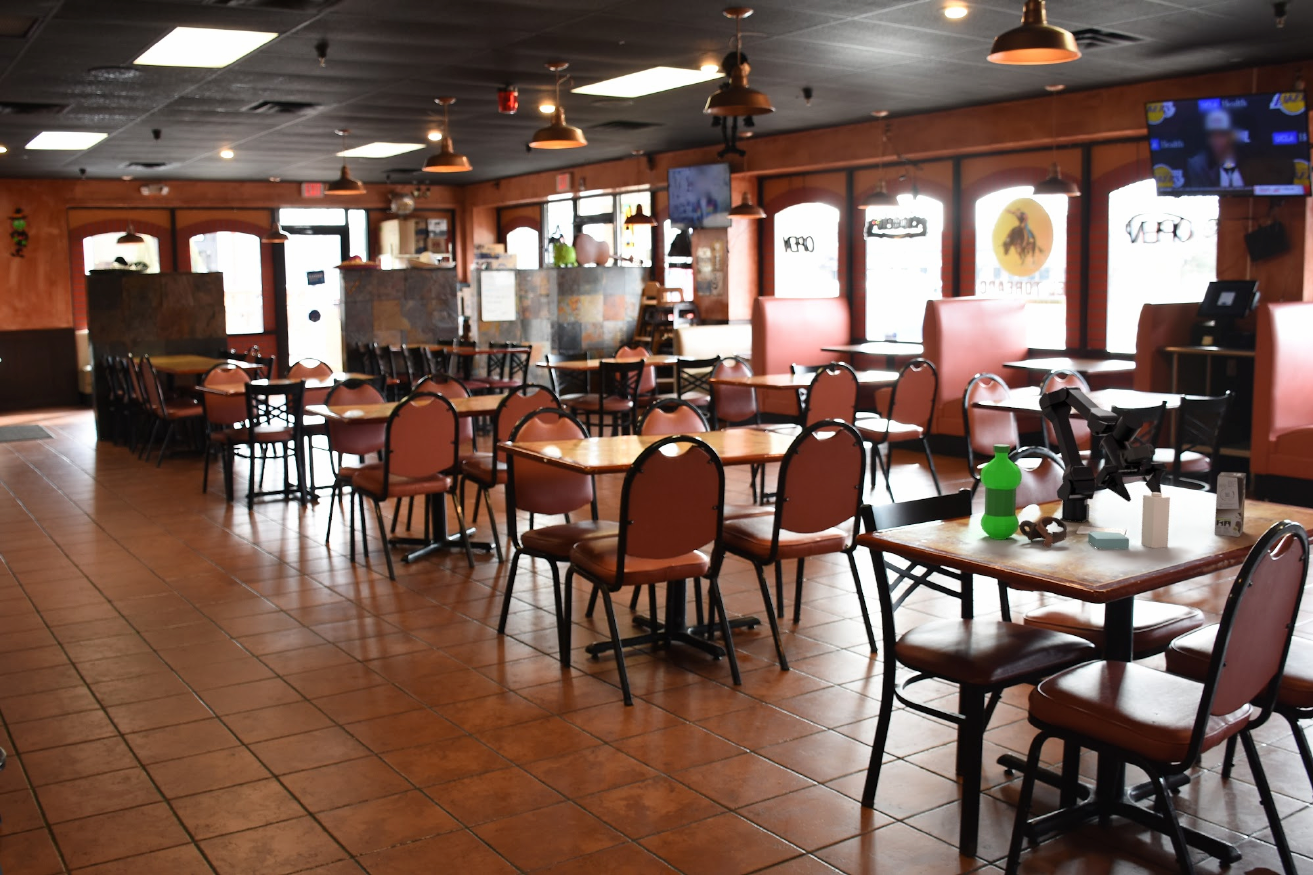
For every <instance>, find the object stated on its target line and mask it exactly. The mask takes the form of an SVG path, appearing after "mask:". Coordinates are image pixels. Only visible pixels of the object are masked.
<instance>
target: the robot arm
mask: <svg viewBox="0 0 1313 875" xmlns="http://www.w3.org/2000/svg"><path fill="white" fill-rule="evenodd" d="M1038 406H1039V409H1040V411H1041V413H1042V415H1043V416H1044V418H1046V420H1048V421H1049V423H1051V426H1052V429H1053V431H1054V432H1053V433H1054V436H1055V438H1056V442H1057V445H1058V449H1059V451H1060V455H1061V458H1062V461H1063V465H1064V470H1063V474H1062V476H1061V477H1062V478H1061V479H1062V484H1060V486H1059V487H1058V489H1057V490H1056V495H1057V496H1056V497H1057V499H1059V500H1062V504H1061V505H1062V509H1061V518H1060V520H1062V521H1063V522H1072V523H1075V522H1076V523H1084V522H1086V521H1088V520H1089V519H1090V504H1089V502H1088V500H1093V499H1094V495H1095V493H1096V488H1097V486H1098V487H1101V486H1102V487H1103V488H1105V489H1108V490H1109V491H1111V492H1112V493H1114V494H1116V495H1118V496H1119V497H1120V498H1122V499H1124V500H1125V501H1127V502H1128V503H1129V502H1131V501H1132V498H1131V495H1130V493H1129V491H1128V489H1127V486H1126V484H1125V482H1124V479H1123V478H1125V479H1128V478H1142V480H1143V481H1144V482H1145V486H1146V487H1147V489H1148V490H1149V491H1150V492H1151V494H1152V493H1153V492H1157V493H1162V486H1161V479H1162V478H1163V477H1164V475H1166V473H1167V471H1169V468H1168V467H1167V466H1166V463H1165V462H1150V463H1149V464H1148V465H1147V466H1146V468H1141V467H1143V466H1144V465H1145V461H1146V460H1148V459H1151V458H1152V457H1153V456H1155V455H1156V449H1155V447H1154V446H1153V445H1152V443H1145V445H1137V446H1134V447H1130V445H1129V442H1131V441H1133V440H1134V439H1135V437H1136V436H1137V435H1138V433H1139V432H1140V431H1141V429H1142V428H1143V426H1144V421H1143V419H1142V418H1141V417H1139V415H1137V414H1136V413H1132V411H1131V410H1130V409H1124V410H1123V409H1122V411H1121V412H1120V414H1119V415H1118V414H1116V413H1114V412H1112V411H1111V410H1107V409H1104V408H1101V407H1100V406H1099V405H1097V404H1096V403H1095V402H1094V401H1093V400H1092V399H1091V398H1089V397H1088V396H1087V395H1086V394H1085V393H1084V392H1083V391H1082V390H1081V387H1078V386H1077V385H1076V386H1075V385H1074V386H1063V387H1061V388H1059V389H1056V390H1053V391H1050V392H1044V393H1043V394H1042V395H1041V396H1040V397H1039V399H1038ZM1073 409H1074V410H1075V411H1076V412H1077V413H1078V414H1079V415H1080V416H1081V417H1083V418H1084V419H1085V420H1086V427H1087V428H1088V429H1089V431H1090V433H1092V435H1093V436H1096V437H1097V436H1104V437H1103V439H1100V444H1098V450H1099V451H1100V450H1105V451H1106V453H1107V455H1108V456H1109V458H1110V461H1109V462H1108V465H1103V466H1102V467H1101V469H1100V470H1099V472H1098V473H1097V474H1096V475H1095V474H1094V470H1093V468H1092V466H1091V465H1085V464H1084V463H1083V461H1082V457H1081V456H1082V455H1081V454H1080V450H1079V446H1078V444H1077V439H1076V437H1075V434H1074V431H1073V430H1074V429H1073V427H1072V423H1071V420H1070V416H1071V412H1072V410H1073Z"/></svg>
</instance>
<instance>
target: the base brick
mask: <svg viewBox="0 0 1313 875" xmlns="http://www.w3.org/2000/svg"><path fill="white" fill-rule="evenodd" d="M1087 535H1088V540H1087V543H1089V544H1090V543H1091V544H1092V545H1093V546H1092V545H1091V544H1090V545H1091V546H1092V547H1093V548H1095V547H1096V548H1101V549H1100V550H1129V549H1130V538H1129V537H1127V536H1126V535H1123V534H1121V533H1088V534H1087ZM1096 548H1095V549H1096Z"/></svg>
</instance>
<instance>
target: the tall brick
mask: <svg viewBox="0 0 1313 875" xmlns="http://www.w3.org/2000/svg"><path fill="white" fill-rule="evenodd" d="M1142 496H1143V497H1142V520H1141V542H1140V543H1141V544H1142V546H1144V545H1145V546H1144V547H1148V548H1150V547H1151V549H1155V548H1156V549H1157V548H1158V549H1159V548H1160V549H1161V548H1168V545H1169V526H1170V525H1169V524H1170V523H1169V522H1170V502H1171V501H1170V500H1171V497H1170V496H1166V495H1163V493H1162V492H1161V493H1157V492H1153V493H1152V492H1151V494H1144V495H1142ZM1141 544H1140V545H1141Z"/></svg>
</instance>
